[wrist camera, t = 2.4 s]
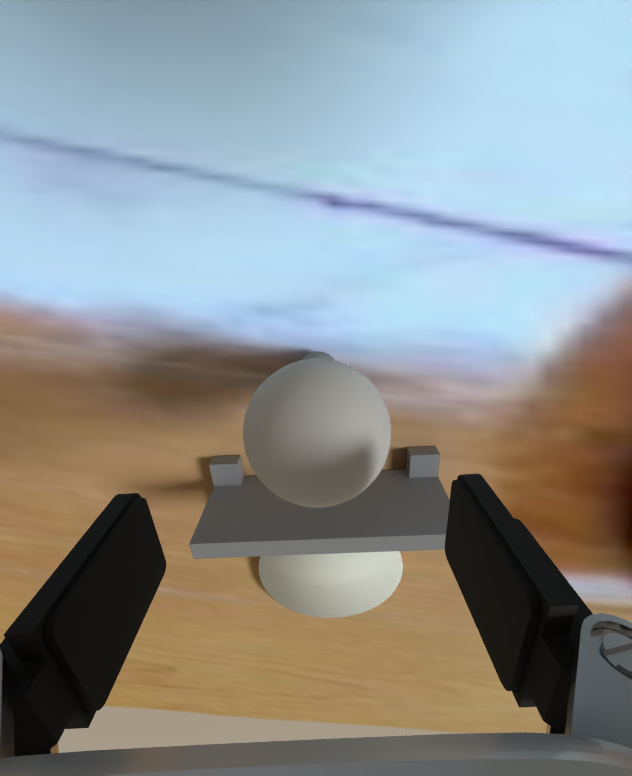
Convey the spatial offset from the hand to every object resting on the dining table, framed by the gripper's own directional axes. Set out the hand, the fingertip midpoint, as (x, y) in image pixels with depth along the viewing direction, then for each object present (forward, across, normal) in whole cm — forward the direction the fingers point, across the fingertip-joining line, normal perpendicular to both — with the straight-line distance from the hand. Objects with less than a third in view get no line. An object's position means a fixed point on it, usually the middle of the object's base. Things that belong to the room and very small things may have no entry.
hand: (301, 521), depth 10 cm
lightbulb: (+13, -1, -1) cm, 13 cm away
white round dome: (+13, -1, +17) cm, 21 cm away
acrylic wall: (+12, -1, +8) cm, 15 cm away
